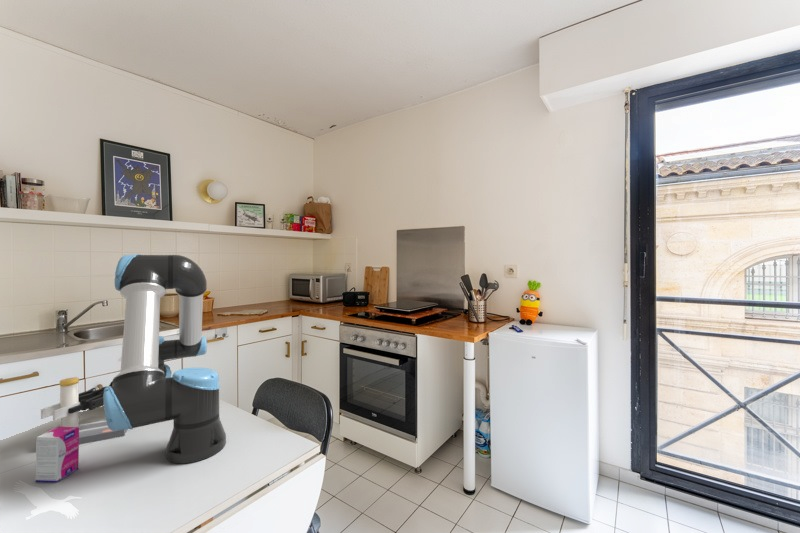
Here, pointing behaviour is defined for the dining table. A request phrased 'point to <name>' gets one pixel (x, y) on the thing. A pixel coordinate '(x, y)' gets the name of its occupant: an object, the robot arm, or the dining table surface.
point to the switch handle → (69, 400)
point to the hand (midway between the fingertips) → (48, 414)
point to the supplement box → (57, 454)
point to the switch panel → (96, 432)
